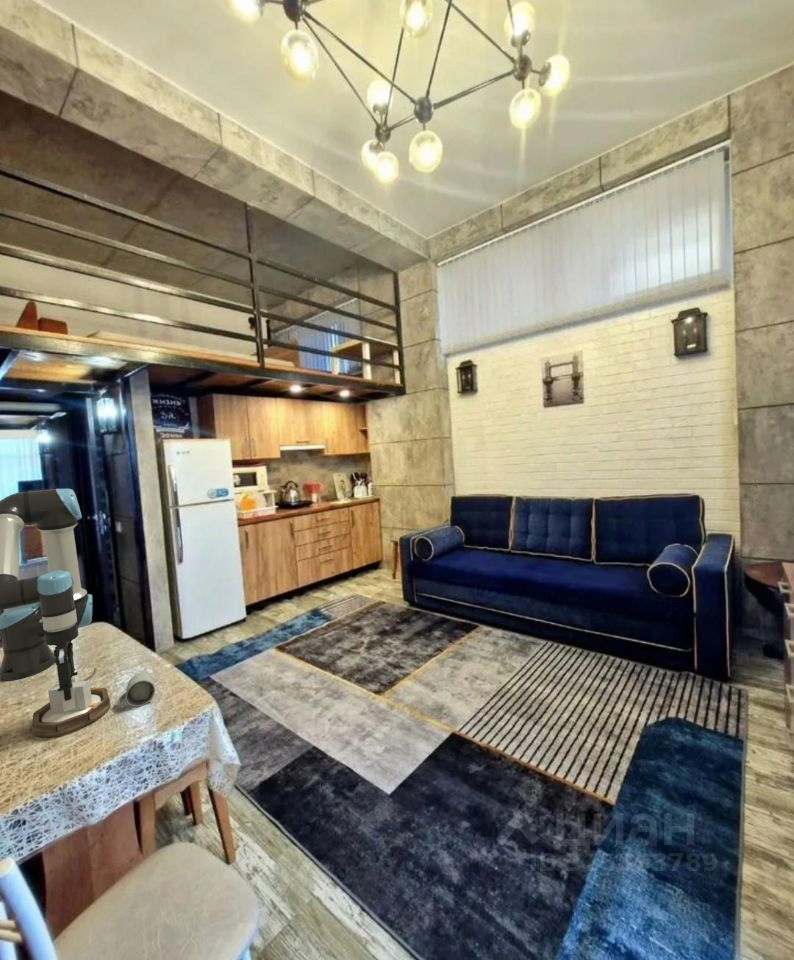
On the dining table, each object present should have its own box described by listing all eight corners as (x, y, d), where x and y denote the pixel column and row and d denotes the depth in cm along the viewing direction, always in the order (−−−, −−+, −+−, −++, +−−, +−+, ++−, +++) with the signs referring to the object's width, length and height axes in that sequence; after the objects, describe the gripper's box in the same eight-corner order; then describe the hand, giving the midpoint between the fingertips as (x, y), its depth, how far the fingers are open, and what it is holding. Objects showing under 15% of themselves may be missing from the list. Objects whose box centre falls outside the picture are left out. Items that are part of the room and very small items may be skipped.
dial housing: (34, 716, 124) (32, 704, 124) (107, 691, 135) (106, 679, 135) (30, 748, 110) (28, 734, 110) (113, 717, 121) (111, 704, 121)
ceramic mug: (155, 688, 135) (152, 665, 134) (156, 701, 128) (153, 677, 127) (115, 702, 129) (112, 678, 128) (115, 715, 122) (111, 690, 122)
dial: (29, 730, 115) (25, 702, 114) (62, 701, 128) (58, 676, 128) (84, 723, 117) (80, 695, 116) (110, 694, 130) (107, 669, 129)
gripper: (48, 620, 126) (58, 694, 128) (38, 642, 111) (50, 726, 113) (79, 613, 130) (88, 685, 132) (74, 633, 115) (84, 715, 117)
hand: (70, 704), depth 122 cm, fingers closed on dial, 5 cm apart
